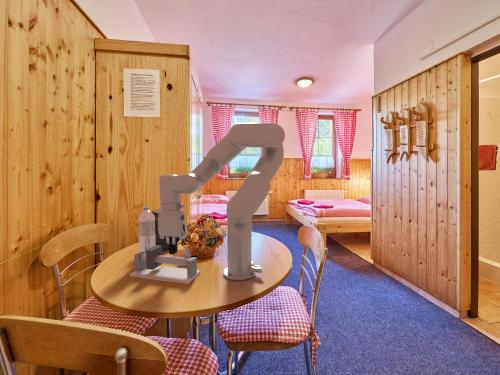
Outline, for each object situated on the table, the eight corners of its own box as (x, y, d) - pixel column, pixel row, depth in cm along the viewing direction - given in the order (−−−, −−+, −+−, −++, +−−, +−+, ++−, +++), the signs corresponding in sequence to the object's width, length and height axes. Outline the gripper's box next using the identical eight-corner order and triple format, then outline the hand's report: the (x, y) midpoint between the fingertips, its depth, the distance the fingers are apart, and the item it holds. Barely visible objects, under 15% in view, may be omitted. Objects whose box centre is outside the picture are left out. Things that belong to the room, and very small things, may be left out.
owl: (158, 253, 121) (156, 213, 120) (142, 249, 128) (141, 210, 127) (178, 247, 132) (177, 209, 130) (163, 242, 139) (162, 207, 137)
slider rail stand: (200, 272, 100) (200, 254, 99) (188, 284, 90) (187, 263, 89) (146, 266, 106) (146, 249, 105) (129, 276, 96) (129, 257, 96)
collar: (162, 263, 102) (162, 245, 101) (153, 269, 96) (152, 250, 95) (156, 262, 102) (155, 245, 102) (146, 268, 96) (145, 250, 96)
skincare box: (199, 253, 121) (198, 229, 120) (197, 257, 117) (197, 232, 116) (186, 254, 121) (186, 229, 120) (184, 257, 117) (184, 232, 116)
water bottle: (150, 267, 105) (148, 208, 103) (136, 265, 106) (134, 208, 104) (159, 261, 112) (157, 206, 110) (145, 260, 113) (144, 205, 111)
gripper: (193, 205, 97) (195, 251, 98) (159, 204, 101) (162, 249, 102) (183, 208, 89) (185, 258, 91) (147, 208, 93) (150, 255, 95)
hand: (173, 253), depth 97 cm, fingers closed
